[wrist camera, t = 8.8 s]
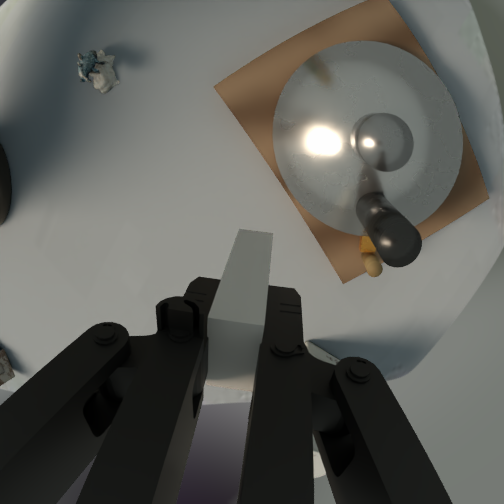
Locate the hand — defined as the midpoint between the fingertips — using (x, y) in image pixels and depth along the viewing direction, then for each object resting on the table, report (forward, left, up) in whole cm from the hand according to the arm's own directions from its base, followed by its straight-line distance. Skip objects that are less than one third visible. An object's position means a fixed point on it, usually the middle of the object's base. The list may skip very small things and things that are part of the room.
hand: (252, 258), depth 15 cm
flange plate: (+1, +10, -15) cm, 18 cm away
